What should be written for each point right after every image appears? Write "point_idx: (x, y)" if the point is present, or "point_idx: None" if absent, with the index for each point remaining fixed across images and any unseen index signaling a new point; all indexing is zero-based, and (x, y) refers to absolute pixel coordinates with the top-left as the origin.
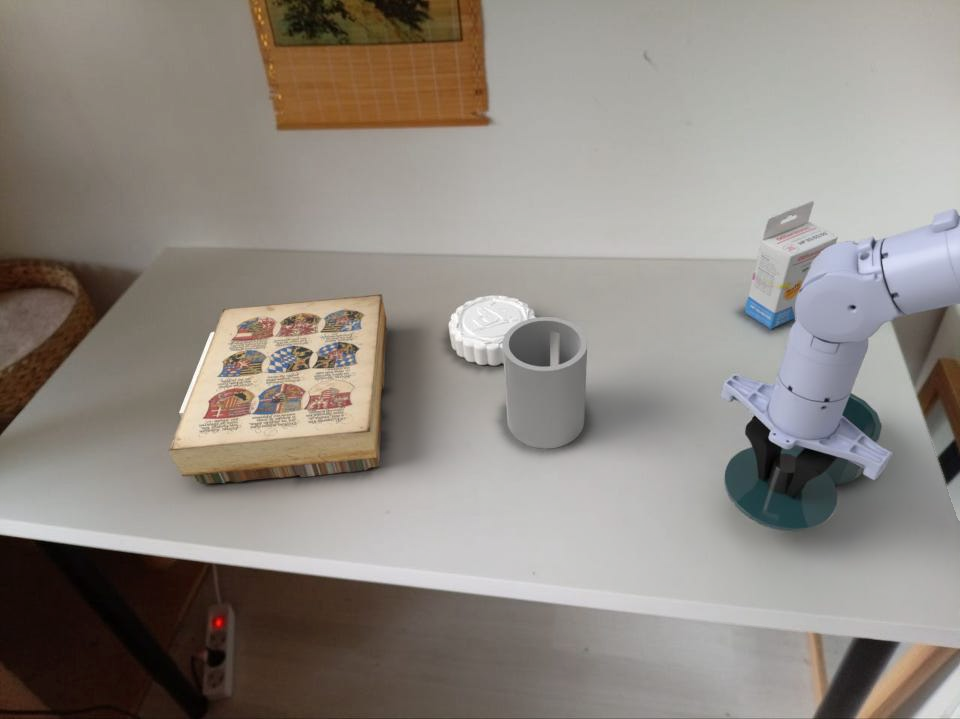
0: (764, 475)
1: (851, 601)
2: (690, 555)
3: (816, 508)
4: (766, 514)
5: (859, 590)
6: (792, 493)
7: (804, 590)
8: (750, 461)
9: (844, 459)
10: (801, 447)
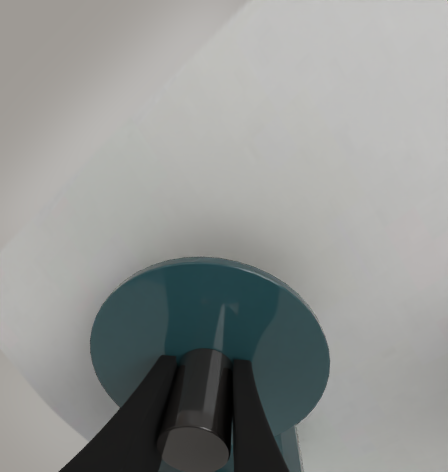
0: (233, 378)
1: (42, 242)
2: (279, 127)
3: (118, 359)
4: (179, 287)
5: (49, 266)
6: (156, 368)
7: (94, 211)
8: (289, 385)
9: (163, 460)
10: (231, 450)
